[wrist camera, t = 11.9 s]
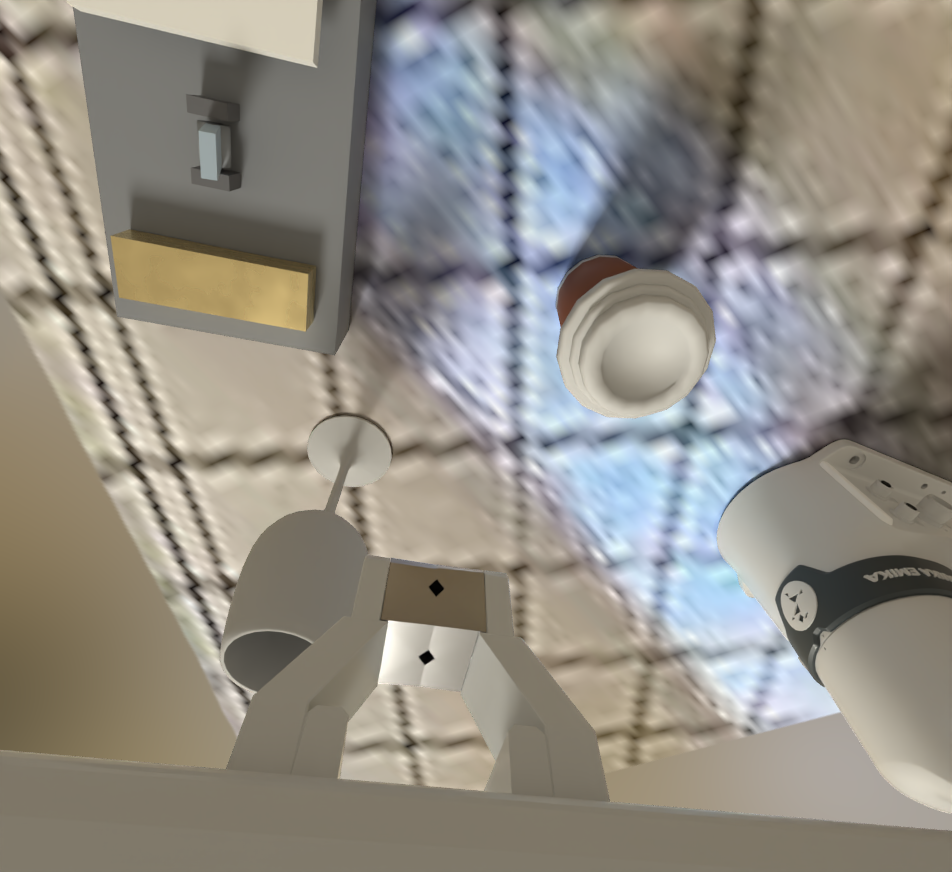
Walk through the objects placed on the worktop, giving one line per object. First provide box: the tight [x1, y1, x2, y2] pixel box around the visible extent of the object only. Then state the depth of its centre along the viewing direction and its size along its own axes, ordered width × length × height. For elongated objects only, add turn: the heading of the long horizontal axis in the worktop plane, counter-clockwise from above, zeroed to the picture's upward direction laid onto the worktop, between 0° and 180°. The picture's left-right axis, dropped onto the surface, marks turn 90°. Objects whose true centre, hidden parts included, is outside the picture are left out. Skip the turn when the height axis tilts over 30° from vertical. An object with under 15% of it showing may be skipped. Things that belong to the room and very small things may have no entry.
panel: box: [73, 0, 377, 355], centre depth 31 cm, size 14×23×7 cm, turn 168°
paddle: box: [197, 120, 231, 181], centre depth 27 cm, size 2×2×6 cm
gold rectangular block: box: [111, 229, 316, 332], centre depth 33 cm, size 11×4×2 cm, turn 79°
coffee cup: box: [556, 255, 716, 418], centre depth 35 cm, size 9×9×12 cm
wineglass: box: [220, 415, 392, 694], centre depth 37 cm, size 8×8×21 cm
